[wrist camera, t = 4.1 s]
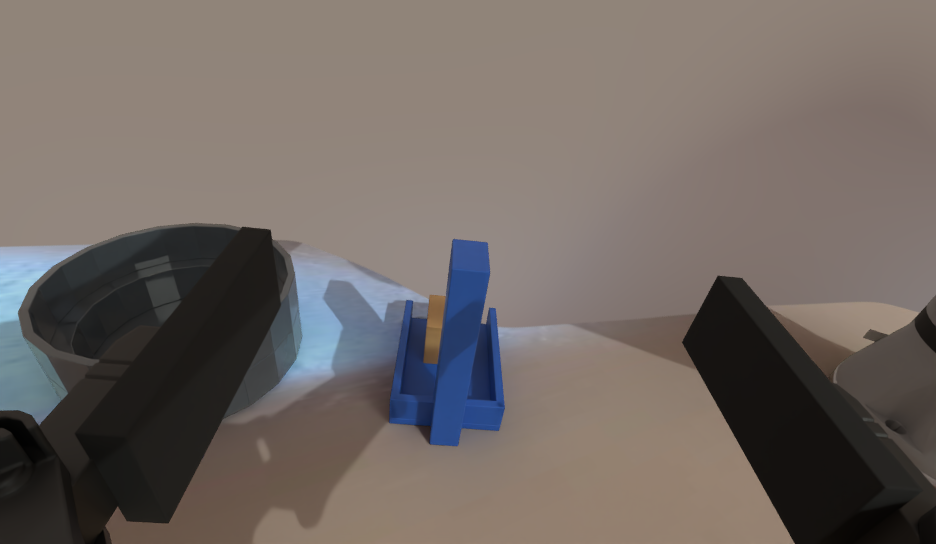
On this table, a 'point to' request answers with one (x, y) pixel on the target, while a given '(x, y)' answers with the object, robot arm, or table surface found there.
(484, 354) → the scoop
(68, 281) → the grey round bin
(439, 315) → the block
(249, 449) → the table surface
